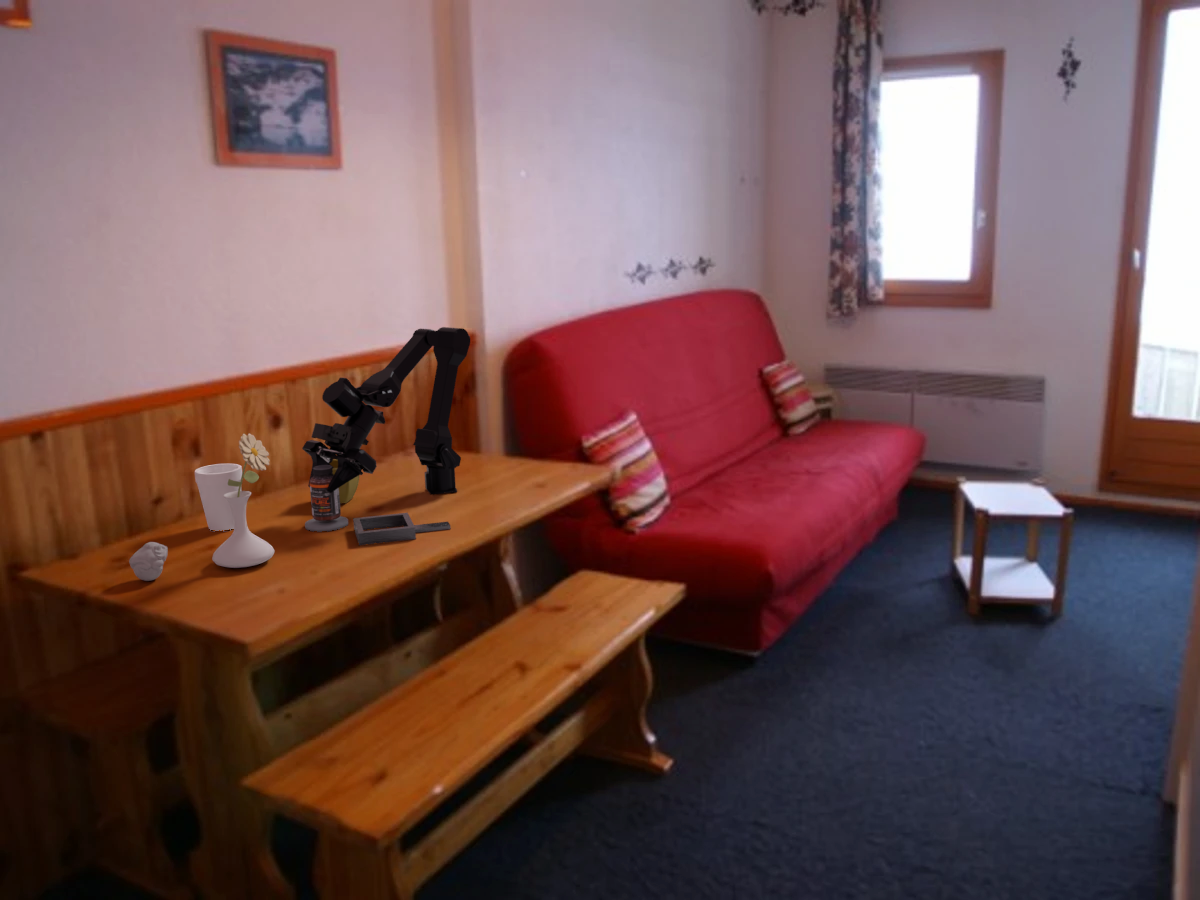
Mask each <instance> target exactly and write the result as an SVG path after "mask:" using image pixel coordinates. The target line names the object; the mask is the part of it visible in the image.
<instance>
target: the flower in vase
mask: <svg viewBox="0 0 1200 900" xmlns="http://www.w3.org/2000/svg"><path fill="white" fill-rule="evenodd" d="M238 444H239V445H238V448H239V450H240V454H241V455H242V460H244V461H245V462H244V464H243V468H242V477H241V481H240V482H237V481H233V480H231V479H229V480H228V485H229V486H236V487H238V486H239V489H238V491H234V492H229V493H226V494H225V495H224V498H225V499H226V500H227V501H228V502H229V504H230V506H231V509H232V513H233V517H234V530H232V531H233V532H232V533H231V535H230V536H229V537H228V538H227V539H226V540H225V541H224V542H223V543H221V545H219V546H218V547H217V548H216V550H215V551H214V552H213V554H212V558H211V559H212V562H213V563H215V564H216V565H217V566H221V567H223V568H224V567H225V568H233V569H240V568H247V567H252V566H257V565H259V564H262V563H265V562H267V561H269V560H270V559H271V558H272V557H273V556H274V554H275V551H276V550H275V549H274V547H273V546H272V545H271V544H270V543H269V542H268V541H266V540H265V539H262V538H261V537H259V536H257V535H255V534H254V533H252V531H250V529H249V527H248V523H247V504H248V500H249V498H250V496H251V495H252V492H251V491H249V490H242V486H243V485H242V484H243V480H245V481H246V482H248V483H249V484H255V483H257V481H259V478H260V476H259V474H258V473H257V472H255V471H252V470H246V467H247V465H249V466H250V467H251V469H253V470H254V469H255V470H257V471H266V470H267V467H266V466H270V461H271V460H270V459H269V457H268V456H270V453H269V452H268V450H266V447H265V446H264V445H263V442H262V440H261V439H260V440H259V439H256V437H255V435H254V434H251V433H248V434H245V433H243V434H242V436H240V439H239V440H238ZM240 489H241V491H240Z"/></svg>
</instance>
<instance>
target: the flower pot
mask: <svg viewBox="0 0 1200 900" xmlns="http://www.w3.org/2000/svg"><path fill="white" fill-rule="evenodd" d="M330 465H331V466H333V467H334V468H333V469H332V470H333V472H332V473H333V474H335V472H336V470H337V468H338V460H336V459H333V461H332V462H331V463H330ZM359 483H360V475H359V476H357V477H355V478H354V479H352V480H350V481H348V482H347V483H345V484H344V485H342V486H341V487H339V498H340V504H342V503H345V504H347V503H348V502H350V501H351V500H352V499H353V498H354V496H355V493H356V492H357V490H358V488H359V487H358V486H359Z"/></svg>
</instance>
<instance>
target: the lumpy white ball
mask: <svg viewBox="0 0 1200 900" xmlns="http://www.w3.org/2000/svg"><path fill="white" fill-rule="evenodd" d="M168 549H169V548H168V546H167V545H164V544H161V543H159V542H156V541H149V542H147V543H145V544H144V545H143V546H141V548H139V549H138V550H137V551H136V552H135V553H134V554H132V555H131V557H130V558H129V562H128V563H129V565H130V568H131V569H132V570H133V573H134V575H135V576H136V577H137V578H138V579H139V580H142V581H145V582H149V581H154V580H156V579H158V578H159V577H160V576H161V574H162V572H163V570H164V564H165V562H166V560H167V558H168V553H169V551H168Z"/></svg>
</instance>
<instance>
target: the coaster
mask: <svg viewBox="0 0 1200 900" xmlns="http://www.w3.org/2000/svg"><path fill="white" fill-rule="evenodd" d="M348 525H349V519H348V518H347V517H345V516H340V517H339V518H337V519H334V520H330V521H318V520H315V519H314V518H312V519H308V520H307V521H305V523H304V527H305V530H307V531H309V530H310V532H314V531H317V532H316V533H323V532H322V531H327V532H333V531H332V530H334V531H338V530H341V529H340V528H342V529H344V528H346V527H348ZM345 526H346V527H345ZM343 527H344V528H343ZM337 529H338V530H337Z"/></svg>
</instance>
